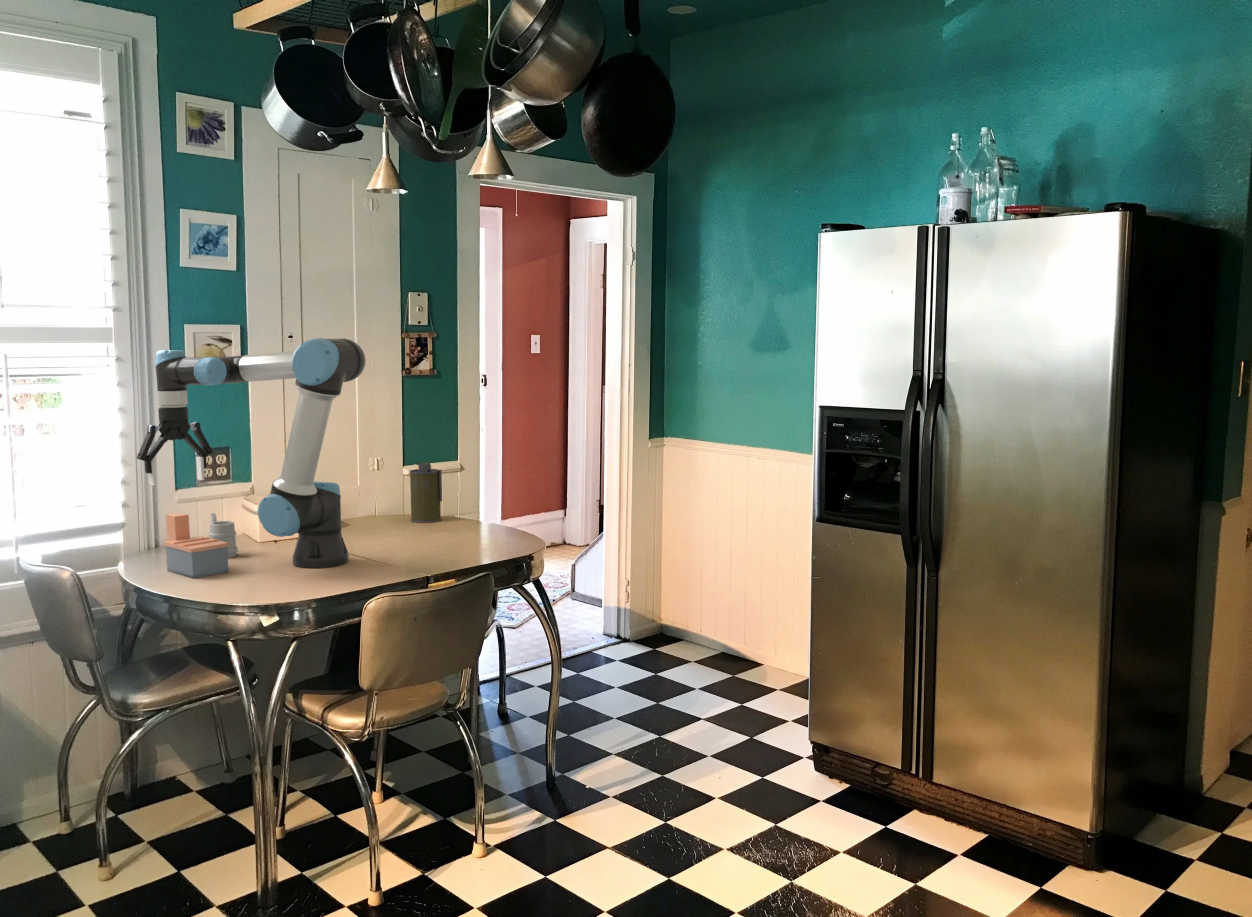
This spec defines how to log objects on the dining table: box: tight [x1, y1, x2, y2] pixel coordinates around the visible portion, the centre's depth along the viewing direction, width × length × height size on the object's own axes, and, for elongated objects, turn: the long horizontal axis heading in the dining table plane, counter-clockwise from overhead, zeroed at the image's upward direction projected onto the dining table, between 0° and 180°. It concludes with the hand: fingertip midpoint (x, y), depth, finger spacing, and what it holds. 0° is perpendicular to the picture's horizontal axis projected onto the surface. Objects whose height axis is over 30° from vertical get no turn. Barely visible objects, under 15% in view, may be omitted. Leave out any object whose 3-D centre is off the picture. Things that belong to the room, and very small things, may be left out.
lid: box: [163, 512, 229, 553], centre depth 283 cm, size 20×11×8 cm, turn 50°
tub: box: [165, 546, 229, 579], centre depth 282 cm, size 14×10×7 cm
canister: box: [409, 462, 443, 524], centre depth 360 cm, size 11×10×20 cm
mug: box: [208, 512, 239, 559], centre depth 303 cm, size 8×12×12 cm, turn 46°
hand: (177, 482), depth 289 cm, fingers open, 13 cm apart
